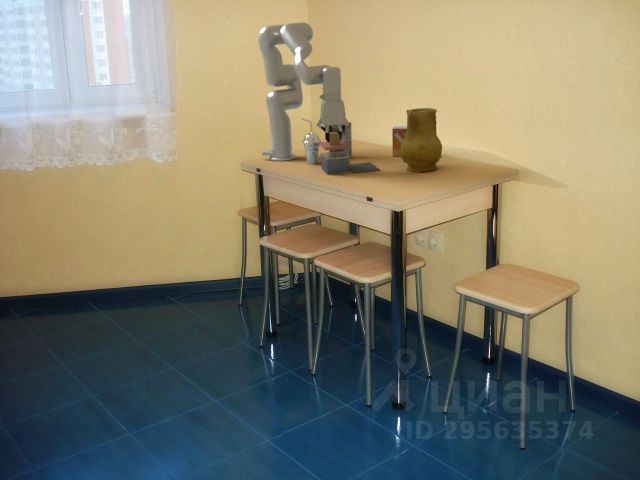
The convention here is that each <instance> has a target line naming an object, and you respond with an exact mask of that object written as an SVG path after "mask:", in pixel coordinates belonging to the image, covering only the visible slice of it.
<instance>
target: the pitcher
mask: <svg viewBox="0 0 640 480" xmlns="http://www.w3.org/2000/svg"><path fill="white" fill-rule="evenodd" d="M437 112H438V109H437V108H432V107H423V108H411V109H406V115H407V116H406V126H407V131H406V135H405V138H404V140H403V142H402V144H401V156H400V158H401V160H402V162H403V163H405V164H407V166H408V167H407V169H406V170H407V171H409V172H411V173H420V172H422V173H423V172H430V171H433V170H436V169H437V168H438V165H437V163H438V162H439V161H440V160H441V158H442V154H443V153H442V151H443V144H442V142H441V139H440V138H439V137H438V135H437V114H436V113H437Z"/></svg>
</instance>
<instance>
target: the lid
mask: <svg viewBox="0 0 640 480" xmlns="http://www.w3.org/2000/svg"><path fill="white" fill-rule="evenodd" d="M329 138H330V142H327V141H321V142H319V147H321V149H323V150H324V151H329V150H337V149H349V146H348V145H347V144H346V143H344V142H343V141H340V134H338V133H337V132H329Z"/></svg>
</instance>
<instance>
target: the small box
mask: <svg viewBox="0 0 640 480" xmlns="http://www.w3.org/2000/svg"><path fill="white" fill-rule="evenodd" d="M391 131H392V134H391V135H392V144H391V145H392V146H391V147H392V157H393V158H394V157H401V144H402V142H403V140H404V138H405V135H406V131H407V125H405V126H404V125H402V126H399V125H398V126H393V127H392V130H391Z"/></svg>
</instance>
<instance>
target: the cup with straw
mask: <svg viewBox="0 0 640 480" xmlns="http://www.w3.org/2000/svg"><path fill="white" fill-rule="evenodd" d="M301 120H302V121H305V122H308V123H309V127H310V132H309V133H306V134H305V136H304V137H303V139H302V142H301V143H302V144H303V146H304V149H305V154H306V156H305V157H306V161H307V165H313V166H314V165H318V164H319V162H318V161H319V150H320V145H319V142H322V141H321V139H320V138H319V137H320V136H319V135H318V134H317V133H315V132H313V123H312V121H311V120H309V119H306V118H301Z"/></svg>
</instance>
